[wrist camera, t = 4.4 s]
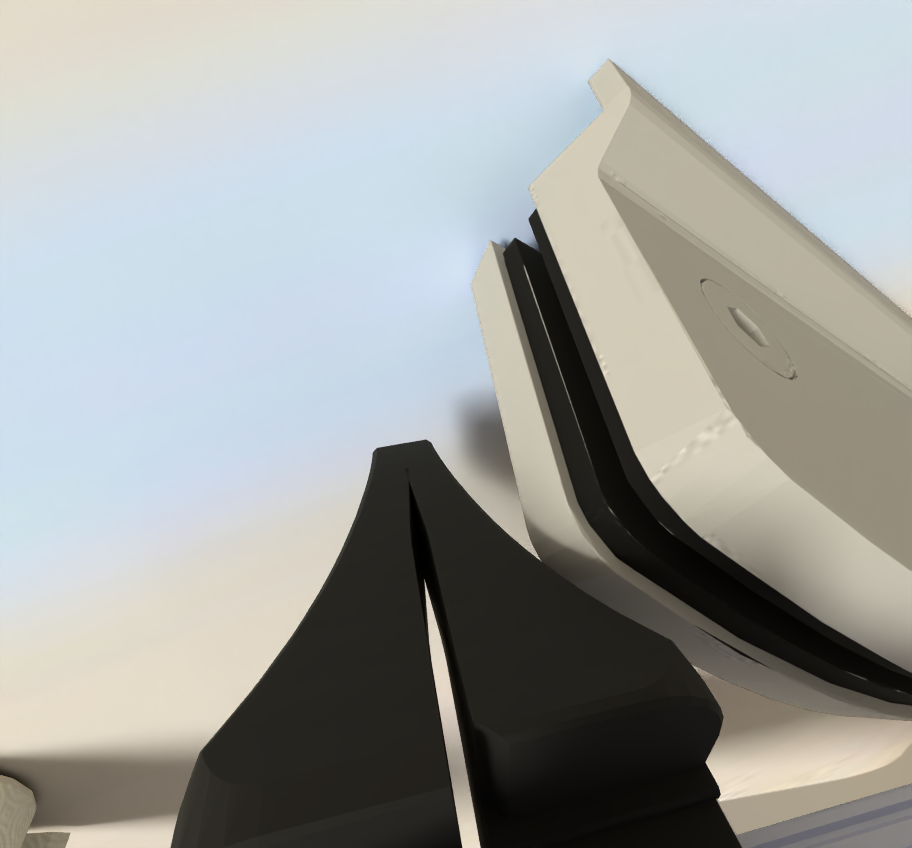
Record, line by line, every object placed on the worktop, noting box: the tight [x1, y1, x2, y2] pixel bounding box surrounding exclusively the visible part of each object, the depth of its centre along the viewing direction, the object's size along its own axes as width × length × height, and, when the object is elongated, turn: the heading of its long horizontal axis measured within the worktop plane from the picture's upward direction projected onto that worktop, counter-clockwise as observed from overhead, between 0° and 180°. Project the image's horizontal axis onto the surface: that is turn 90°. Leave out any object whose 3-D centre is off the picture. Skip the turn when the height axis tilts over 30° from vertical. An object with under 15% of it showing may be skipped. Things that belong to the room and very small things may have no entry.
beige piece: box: [471, 59, 912, 721], centre depth 11 cm, size 17×5×10 cm, turn 61°
